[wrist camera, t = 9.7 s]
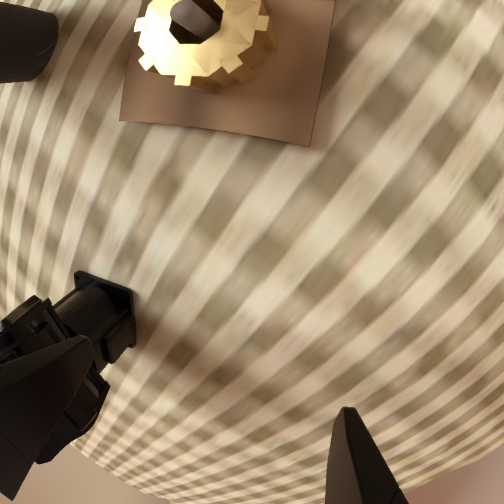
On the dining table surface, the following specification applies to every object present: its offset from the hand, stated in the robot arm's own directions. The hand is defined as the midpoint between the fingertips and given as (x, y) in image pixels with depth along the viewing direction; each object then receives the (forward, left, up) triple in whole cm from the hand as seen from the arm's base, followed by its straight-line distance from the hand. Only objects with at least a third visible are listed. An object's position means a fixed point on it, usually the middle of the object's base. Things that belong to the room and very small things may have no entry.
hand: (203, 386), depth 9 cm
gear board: (-5, +16, -12) cm, 20 cm away
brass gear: (-5, +13, -10) cm, 17 cm away
